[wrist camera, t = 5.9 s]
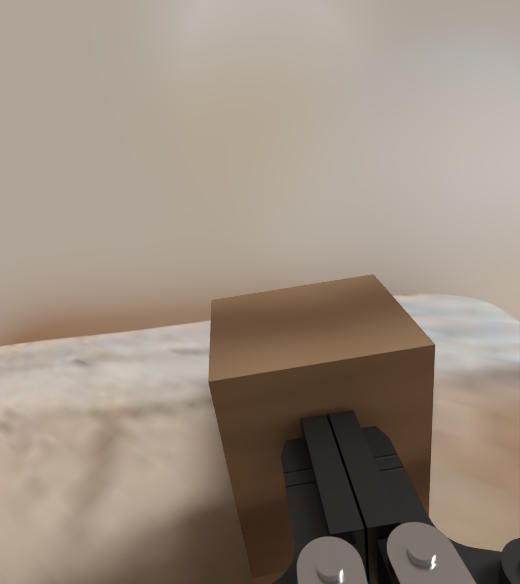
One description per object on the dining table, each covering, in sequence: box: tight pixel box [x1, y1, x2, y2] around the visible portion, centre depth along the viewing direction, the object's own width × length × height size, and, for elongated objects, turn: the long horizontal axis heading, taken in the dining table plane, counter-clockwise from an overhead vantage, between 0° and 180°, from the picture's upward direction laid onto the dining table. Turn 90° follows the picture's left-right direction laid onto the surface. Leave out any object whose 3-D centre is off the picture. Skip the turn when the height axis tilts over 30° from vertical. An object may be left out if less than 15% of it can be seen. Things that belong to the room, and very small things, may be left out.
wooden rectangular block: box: [208, 275, 435, 584], centre depth 16 cm, size 5×6×12 cm
